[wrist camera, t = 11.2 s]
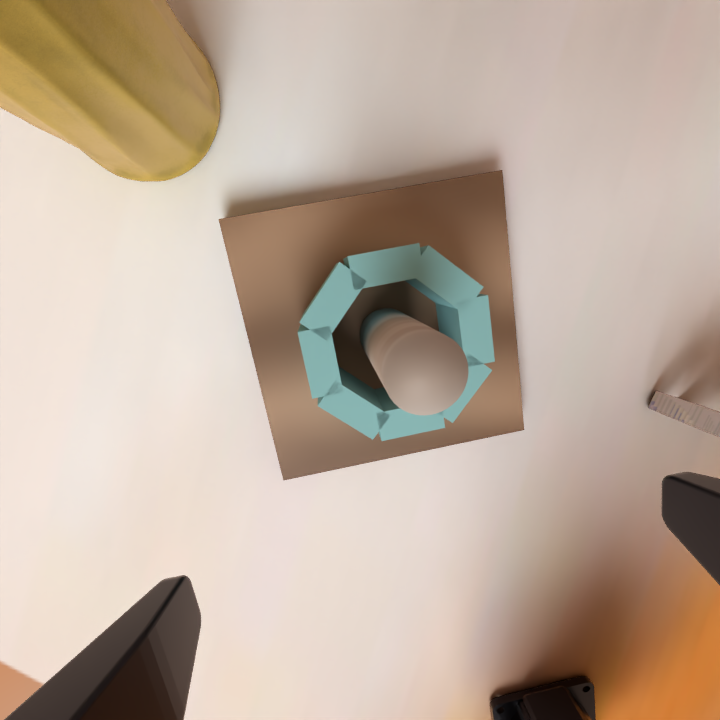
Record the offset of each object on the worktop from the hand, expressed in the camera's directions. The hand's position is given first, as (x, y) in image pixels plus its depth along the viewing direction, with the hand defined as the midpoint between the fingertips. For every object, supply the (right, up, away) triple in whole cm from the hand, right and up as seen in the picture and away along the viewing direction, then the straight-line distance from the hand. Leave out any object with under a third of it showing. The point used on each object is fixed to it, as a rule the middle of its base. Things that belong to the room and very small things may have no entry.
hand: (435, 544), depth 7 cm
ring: (0, +5, +10) cm, 11 cm away
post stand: (0, +5, +11) cm, 12 cm away
